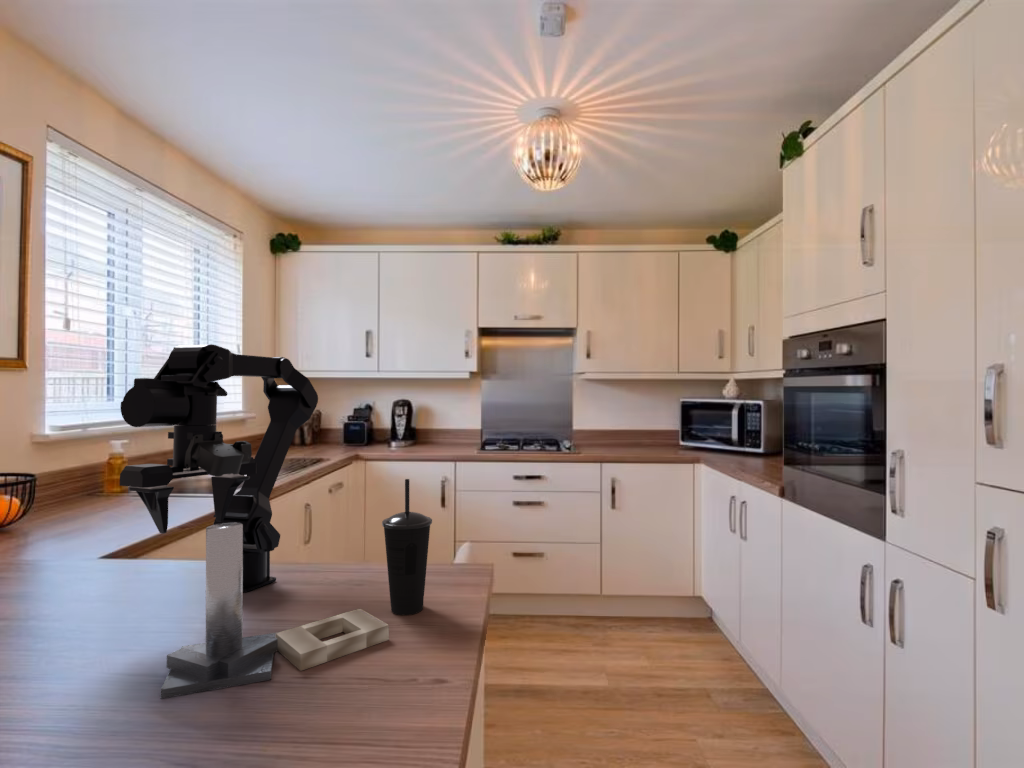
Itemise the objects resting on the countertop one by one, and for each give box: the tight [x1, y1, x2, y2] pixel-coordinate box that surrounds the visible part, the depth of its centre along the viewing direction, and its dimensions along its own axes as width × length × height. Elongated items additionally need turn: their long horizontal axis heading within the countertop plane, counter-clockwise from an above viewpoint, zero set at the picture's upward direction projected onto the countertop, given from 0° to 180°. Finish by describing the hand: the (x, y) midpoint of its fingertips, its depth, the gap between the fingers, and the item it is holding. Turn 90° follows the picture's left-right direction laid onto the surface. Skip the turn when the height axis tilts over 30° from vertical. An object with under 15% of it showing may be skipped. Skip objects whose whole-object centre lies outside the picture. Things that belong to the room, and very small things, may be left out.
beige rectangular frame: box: [275, 608, 390, 672], centre depth 73 cm, size 12×8×2 cm, turn 134°
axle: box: [205, 522, 244, 658], centre depth 67 cm, size 4×4×16 cm
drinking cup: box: [381, 478, 433, 616], centre depth 85 cm, size 8×8×20 cm
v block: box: [160, 632, 279, 699], centre depth 67 cm, size 11×12×2 cm
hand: (192, 526), depth 84 cm, fingers open, 9 cm apart
